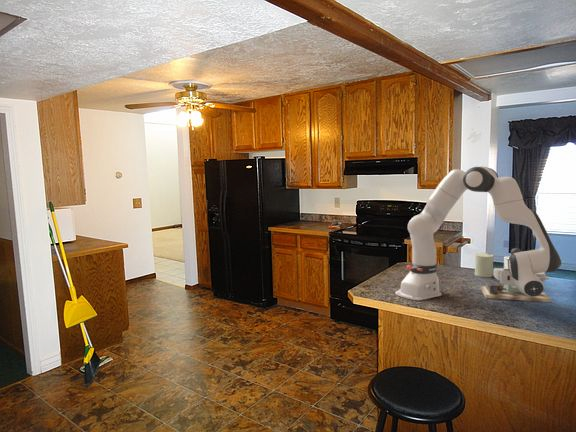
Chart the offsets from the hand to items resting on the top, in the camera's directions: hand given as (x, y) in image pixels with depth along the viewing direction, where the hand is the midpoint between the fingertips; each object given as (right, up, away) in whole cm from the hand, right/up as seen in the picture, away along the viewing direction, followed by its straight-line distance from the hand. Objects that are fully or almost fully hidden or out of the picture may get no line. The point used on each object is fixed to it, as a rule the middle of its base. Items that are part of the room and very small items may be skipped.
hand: (514, 270), depth 185 cm
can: (+3, -8, +36) cm, 37 cm away
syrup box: (+8, -10, +17) cm, 21 cm away
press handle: (0, -9, 0) cm, 9 cm away
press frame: (0, -12, +1) cm, 12 cm away
